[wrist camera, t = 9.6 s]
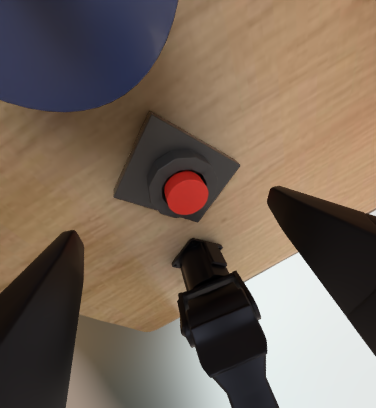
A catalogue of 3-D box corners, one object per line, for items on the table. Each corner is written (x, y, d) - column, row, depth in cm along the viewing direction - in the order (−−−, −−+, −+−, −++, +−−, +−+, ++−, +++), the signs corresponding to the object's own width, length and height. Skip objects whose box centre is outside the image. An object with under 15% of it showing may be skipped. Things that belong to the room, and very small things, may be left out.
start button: (189, 208, 21) (194, 219, 20) (157, 197, 19) (159, 208, 18) (210, 179, 19) (216, 188, 18) (176, 164, 17) (181, 173, 16)
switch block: (194, 215, 26) (203, 233, 23) (113, 189, 21) (112, 209, 18) (235, 159, 22) (250, 173, 20) (149, 110, 17) (154, 120, 14)
